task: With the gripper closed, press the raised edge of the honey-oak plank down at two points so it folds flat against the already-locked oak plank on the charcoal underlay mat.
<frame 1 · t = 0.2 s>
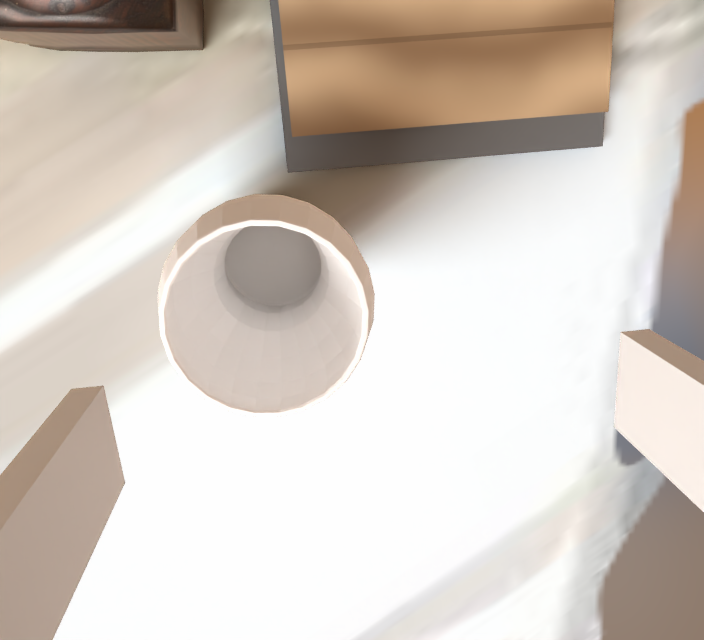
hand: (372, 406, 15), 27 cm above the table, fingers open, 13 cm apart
cup: (274, 254, 42), on the table
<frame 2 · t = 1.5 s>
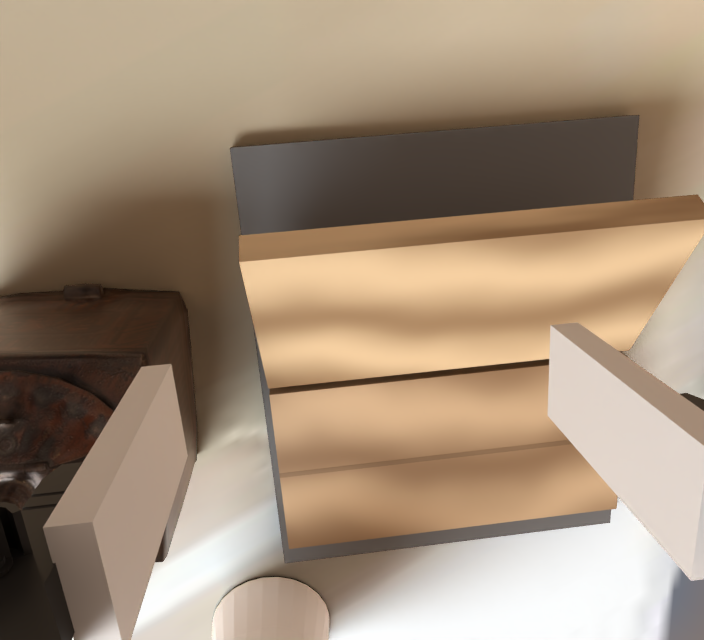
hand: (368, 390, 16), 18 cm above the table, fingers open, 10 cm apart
plank: (461, 301, 29), point 5 cm above the table, hinge at 35.0°
cup: (271, 620, 41), on the table
underlay: (441, 354, 36), on the table
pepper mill: (53, 376, 34), on the table
locked plank: (445, 360, 35), resting on underlay
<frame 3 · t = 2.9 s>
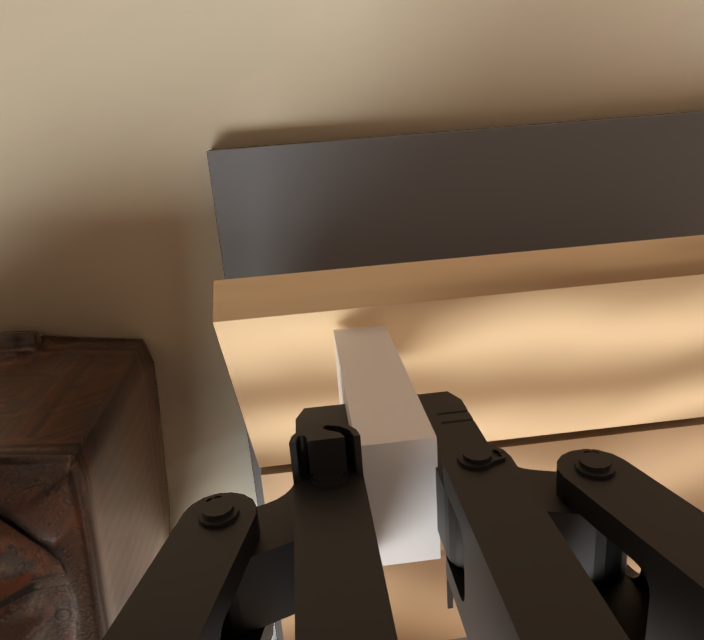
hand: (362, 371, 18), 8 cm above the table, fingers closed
plank: (521, 360, 22), point 5 cm above the table, hinge at 35.0°, touching gripper
underlay: (481, 414, 28), on the table
locked plank: (488, 424, 27), resting on underlay
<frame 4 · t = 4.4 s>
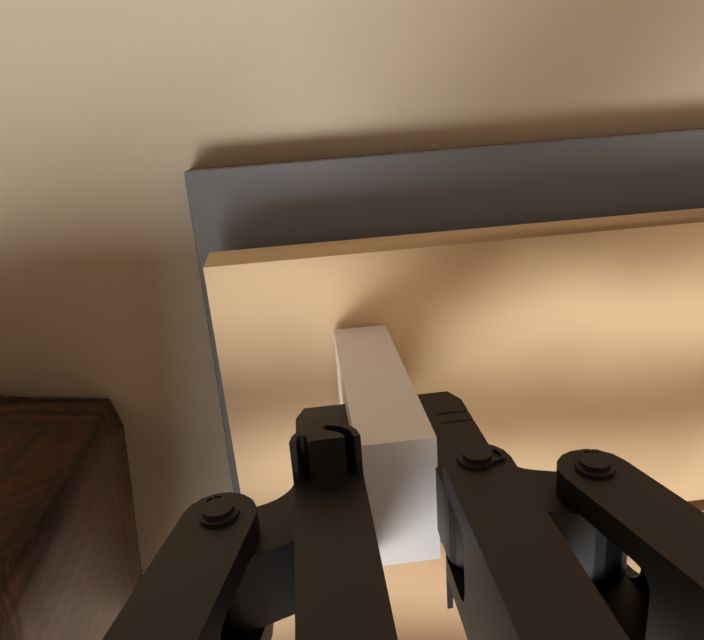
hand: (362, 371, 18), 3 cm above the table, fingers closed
plank: (544, 380, 20), point 2 cm above the table, hinge at 4.4°, touching gripper
underlay: (518, 481, 23), on the table
locked plank: (527, 497, 22), resting on underlay
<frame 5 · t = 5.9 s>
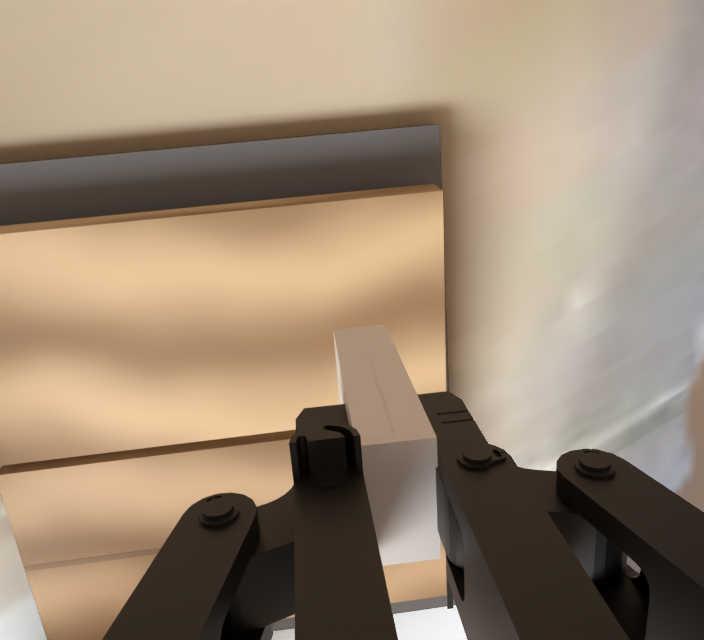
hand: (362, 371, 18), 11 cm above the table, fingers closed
plank: (207, 328, 26), point 2 cm above the table, hinge at 4.4°
underlay: (230, 415, 29), on the table
locked plank: (228, 424, 28), resting on underlay
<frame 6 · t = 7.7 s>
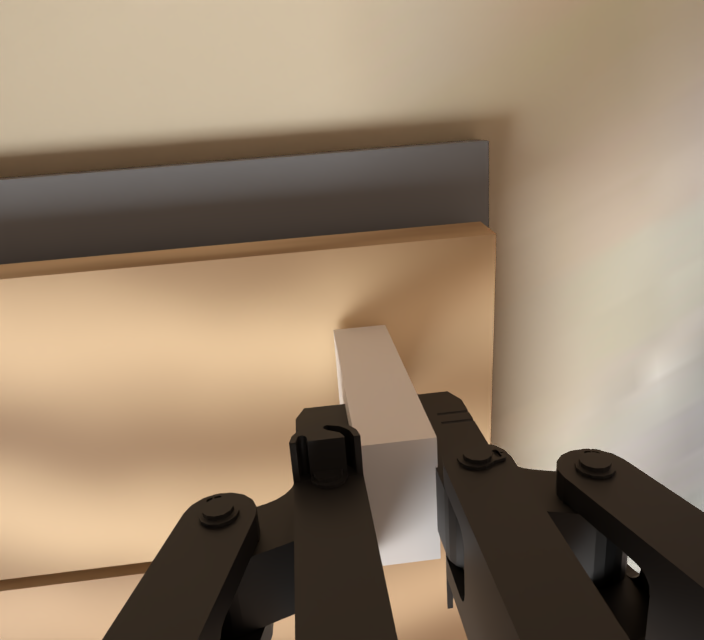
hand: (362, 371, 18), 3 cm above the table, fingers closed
plank: (167, 414, 19), point 2 cm above the table, hinge at 4.4°, touching gripper
underlay: (202, 513, 22), on the table
locked plank: (199, 530, 21), resting on underlay
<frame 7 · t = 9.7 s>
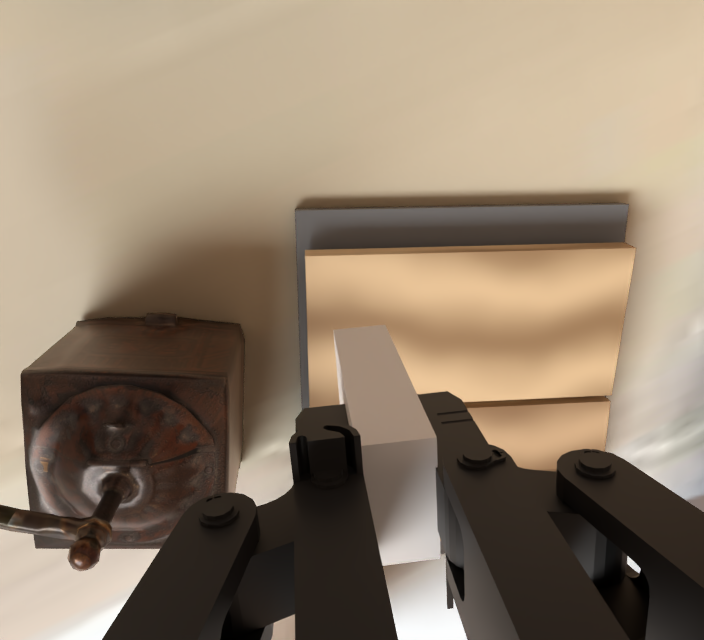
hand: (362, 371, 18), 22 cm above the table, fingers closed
plank: (465, 326, 38), point 2 cm above the table, hinge at 4.4°
cup: (289, 614, 46), on the table
underlay: (454, 389, 42), on the table
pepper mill: (125, 388, 40), on the table
locked plank: (457, 395, 41), resting on underlay
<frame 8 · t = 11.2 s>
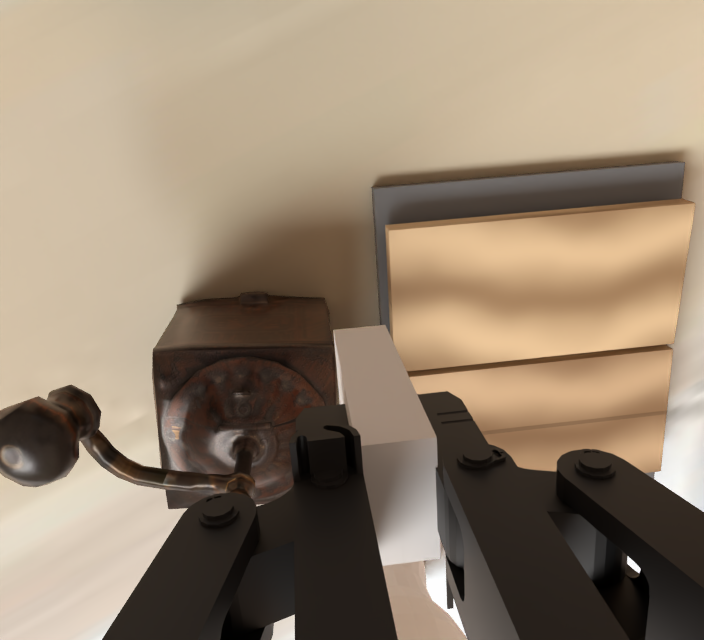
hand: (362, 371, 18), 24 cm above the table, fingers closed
plank: (536, 286, 41), point 2 cm above the table, hinge at 4.4°
cup: (376, 564, 50), on the table
underlay: (523, 347, 45), on the table
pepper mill: (221, 364, 43), on the table
locked plank: (528, 352, 44), resting on underlay
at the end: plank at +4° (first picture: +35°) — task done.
